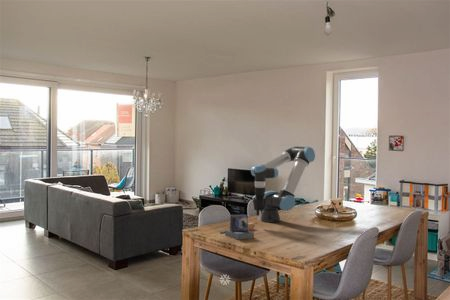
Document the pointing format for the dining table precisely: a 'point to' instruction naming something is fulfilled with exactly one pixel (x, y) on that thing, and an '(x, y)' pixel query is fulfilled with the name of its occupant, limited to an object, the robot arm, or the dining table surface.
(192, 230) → the dining table surface
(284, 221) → the dining table surface
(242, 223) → the small box
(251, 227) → the bar
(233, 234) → the tray
